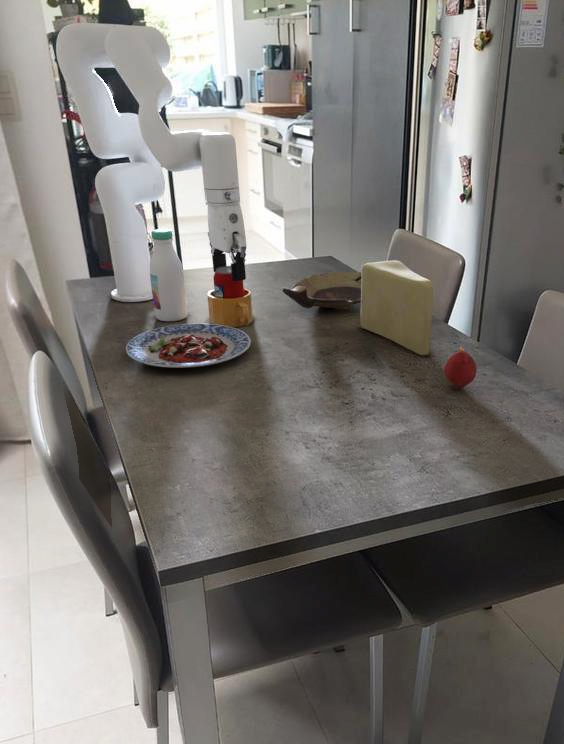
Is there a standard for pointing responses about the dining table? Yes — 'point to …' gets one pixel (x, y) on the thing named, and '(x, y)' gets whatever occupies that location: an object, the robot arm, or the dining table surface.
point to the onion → (460, 369)
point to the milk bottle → (167, 279)
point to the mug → (230, 310)
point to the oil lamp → (327, 290)
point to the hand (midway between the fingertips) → (229, 276)
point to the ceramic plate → (188, 345)
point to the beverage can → (227, 284)
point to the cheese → (397, 304)
